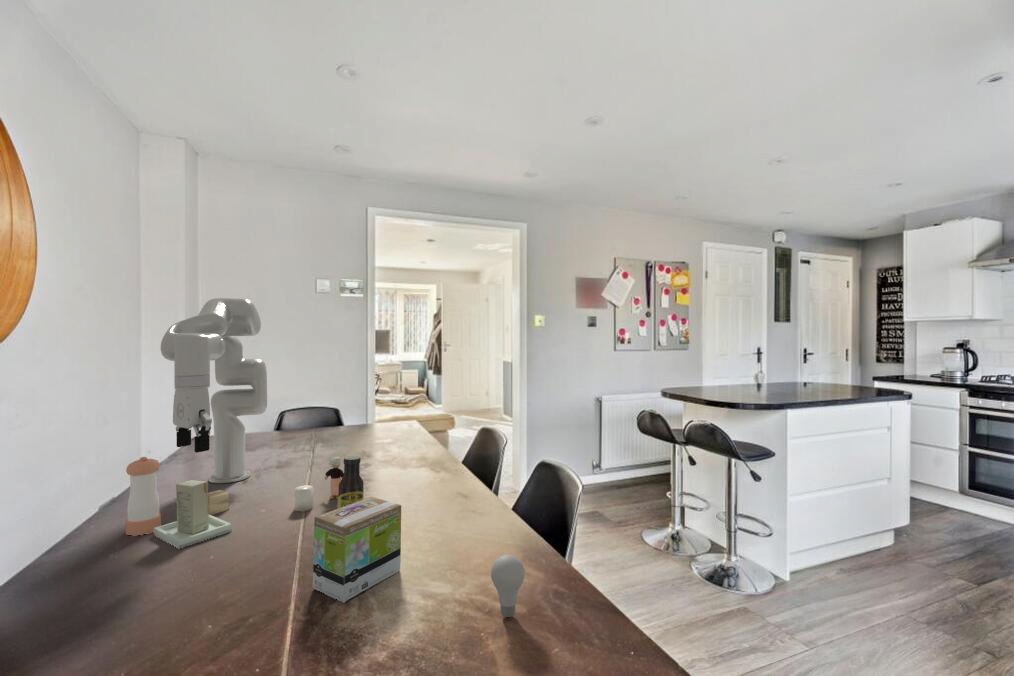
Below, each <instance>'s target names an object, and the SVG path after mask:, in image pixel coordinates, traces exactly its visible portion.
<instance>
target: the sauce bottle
mask: <svg viewBox="0 0 1014 676" xmlns="http://www.w3.org/2000/svg"><path fill="white" fill-rule="evenodd" d="M360 464H361V457H360V456H358V455H350V456H345V457H344V458H343V467H344V468H343V473H344V476H343V478H341V482H340V483H339V493H338V499H337V508H336V509H338V508H341V507H344V506H347V505H350V504H352V503H355V502H358V501H361V500H364V497H365V496H364V494H365V493H364V480H363V478H362V477H361V475H360V474H361V473H360Z"/></svg>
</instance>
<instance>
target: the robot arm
mask: <svg viewBox="0 0 1014 676" xmlns="http://www.w3.org/2000/svg"><path fill="white" fill-rule="evenodd" d="M260 317H261V316H260V315H259V311H258V309H257V308H256V305H255V304H254V303H253V302H252V301H251V300H250V299H247V298H231V297H230V298H228V297H227V298H226V297H219V298H218V297H217V298H216V297H215V298H211V299H209V300H207V301H206V302H205V304H204V305H203V307H202V308H201V309H200V311H199V313H198V315H195V316H192V317H189V318H186V319H183V320H180V321H177V322H175V323H173V324H172V325H171V326H169V328H168V329H167V331H165V333H164V335H163V336H162V339H161V341H160V353H161V356H163V358H164V359H165V360H167V361H170V362H171V361H172V362H174V374H173V375H174V378H173V379H174V385H173V386H174V394H173V408H172V409H173V410H172V423H173V425H174V426H175V431H176V448H183V447H188V446H191V445H192V428H193V430H194V432H195V436H194V453H202V452H207V451H210V435H211V429H212V426H211V425H212V422H213V467H212V470H213V474H212V475H210V476H209V477H208V481H209V482H210V483H212V484H228V483H230V484H231V483H235V482H239V481H243V480H246V479H247V478H249V477H251V472H250V471H249V470H246V428H245V425H244V423H243V422H242V421H241V420H240V418H238V417H240V416H241V417H242V416H256V415H257V416H259V415H262V414H264V413H265V412H266V410H267V408H268V373H267V372H268V371H267V367H266V366H267V365H266V363H265V361H263V360H262V359H260V358H244V355H243V350H244V349H243V348H244V347H243V343H242V342H241V340H240V339H239V338H238V337H254V336H256V335H258V334H259V332H260V331H261V325H262V322H261V318H260ZM211 361H214V373H215V374H214V375H215V376H214V377H215V381H216V384H218V385H220V386H224V387H225V386H226V387H231V386H232V387H234V386H237V387H238V386H249V387H250V386H251V388H229V389H222V390H218V391H216V392H214V393H213V395H212V396H211V399H210V394H209V388H210V387H211V379H210V378H211V371H210V370H211V369H210V367H211V365H210V364H211V363H210V362H211ZM211 413H212V417H211ZM212 419H213V420H212Z"/></svg>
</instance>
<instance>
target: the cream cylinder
mask: <svg viewBox="0 0 1014 676" xmlns="http://www.w3.org/2000/svg"><path fill="white" fill-rule="evenodd" d="M311 508H312V509H313V508H314V486H313V485H309V484H308V485H307V484H306V485H300V486H297V487H295V488H294V511H295V512H298V511H302V512H307V510H308V511H310V510H312V509H311Z"/></svg>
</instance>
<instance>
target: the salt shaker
mask: <svg viewBox="0 0 1014 676" xmlns="http://www.w3.org/2000/svg"><path fill="white" fill-rule="evenodd" d="M160 468H161V464H160V462H159V460H157V459H153V458H147V456H141V457H139V459H137V460H134V461H132V462H130V463H129V464H128V465H127V467H126V469H125V470H126V474H127V475H128V476H129V477H130V478H129V486H130V487H129V489H130V490H129V495H128V502H127V505H126V506H127V510H126V511H127V518H126V519H125V535H126V534H127V535H141V534H146V535H148V534H147V533H149V534H152V533H151V532H153V531H154V528H155V527H158V526H162V514H161V512H160V497H159V493H158V488H157V487H158V486H157V485H158V484H157V483H158V481H157V472H158V471H159V470H160ZM153 533H154V532H153ZM127 535H126V536H127ZM141 536H142V535H141Z"/></svg>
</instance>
